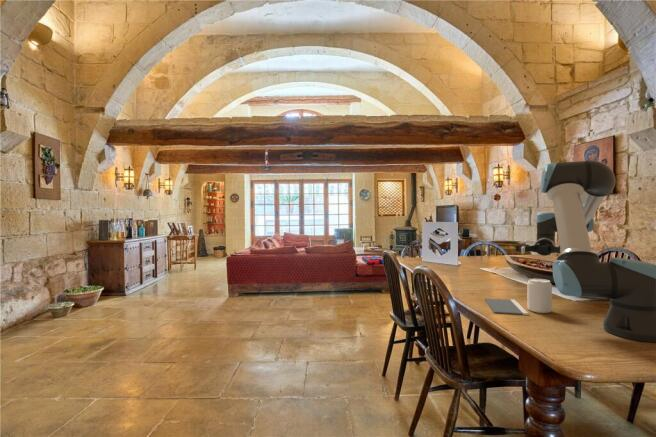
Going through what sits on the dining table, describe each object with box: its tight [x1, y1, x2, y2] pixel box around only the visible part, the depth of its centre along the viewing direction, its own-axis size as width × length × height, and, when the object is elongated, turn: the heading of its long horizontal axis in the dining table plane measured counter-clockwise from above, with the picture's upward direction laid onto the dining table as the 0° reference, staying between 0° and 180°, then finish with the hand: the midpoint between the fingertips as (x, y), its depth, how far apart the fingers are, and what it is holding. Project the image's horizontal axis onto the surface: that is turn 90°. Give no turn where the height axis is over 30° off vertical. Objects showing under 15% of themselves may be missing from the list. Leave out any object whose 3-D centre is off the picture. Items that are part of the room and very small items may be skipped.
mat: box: [484, 298, 529, 316], centre depth 136 cm, size 20×12×1 cm, turn 164°
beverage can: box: [526, 278, 553, 314], centre depth 130 cm, size 8×8×12 cm
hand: (541, 251), depth 137 cm, fingers open, 13 cm apart
